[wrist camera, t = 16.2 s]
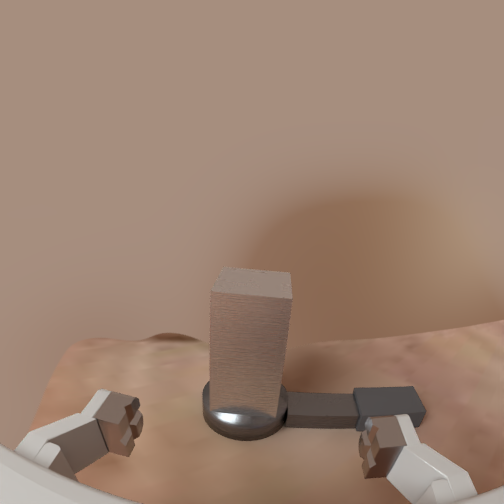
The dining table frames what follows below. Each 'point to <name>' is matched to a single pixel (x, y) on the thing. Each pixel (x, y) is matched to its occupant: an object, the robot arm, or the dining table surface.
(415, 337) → the dining table surface
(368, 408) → the ratchet
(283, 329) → the tall grey pillar block
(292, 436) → the dining table surface
